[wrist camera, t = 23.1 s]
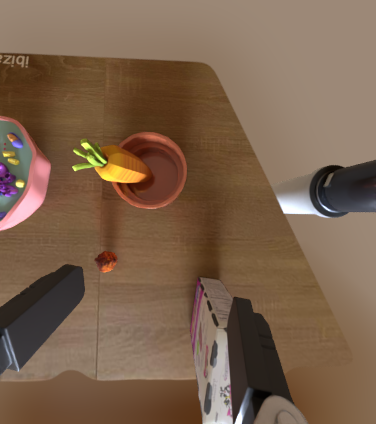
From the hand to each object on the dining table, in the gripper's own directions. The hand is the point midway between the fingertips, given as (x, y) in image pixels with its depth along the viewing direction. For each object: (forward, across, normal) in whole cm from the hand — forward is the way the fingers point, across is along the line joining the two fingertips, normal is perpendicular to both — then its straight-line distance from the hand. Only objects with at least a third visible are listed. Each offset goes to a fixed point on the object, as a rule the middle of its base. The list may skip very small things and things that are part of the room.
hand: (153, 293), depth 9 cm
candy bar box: (+22, -5, +22) cm, 31 cm away
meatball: (+21, +15, +15) cm, 30 cm away
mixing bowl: (+27, +9, -1) cm, 29 cm away
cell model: (+22, +33, +2) cm, 40 cm away
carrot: (+27, +9, -1) cm, 28 cm away
